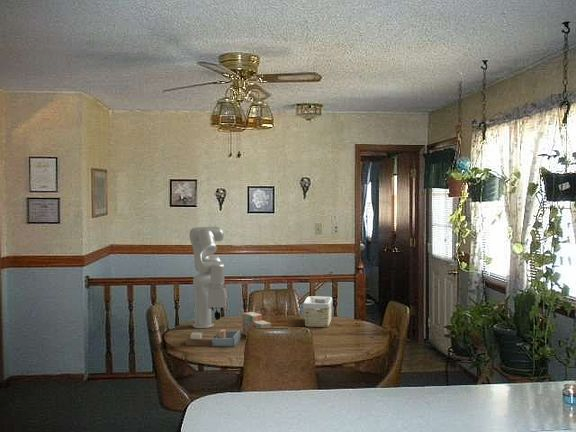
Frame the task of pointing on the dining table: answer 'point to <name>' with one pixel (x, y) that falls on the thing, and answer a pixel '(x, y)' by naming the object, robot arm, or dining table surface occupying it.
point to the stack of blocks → (253, 321)
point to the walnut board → (201, 340)
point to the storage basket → (317, 311)
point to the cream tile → (196, 335)
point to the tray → (228, 339)
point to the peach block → (222, 334)
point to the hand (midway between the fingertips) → (217, 319)
